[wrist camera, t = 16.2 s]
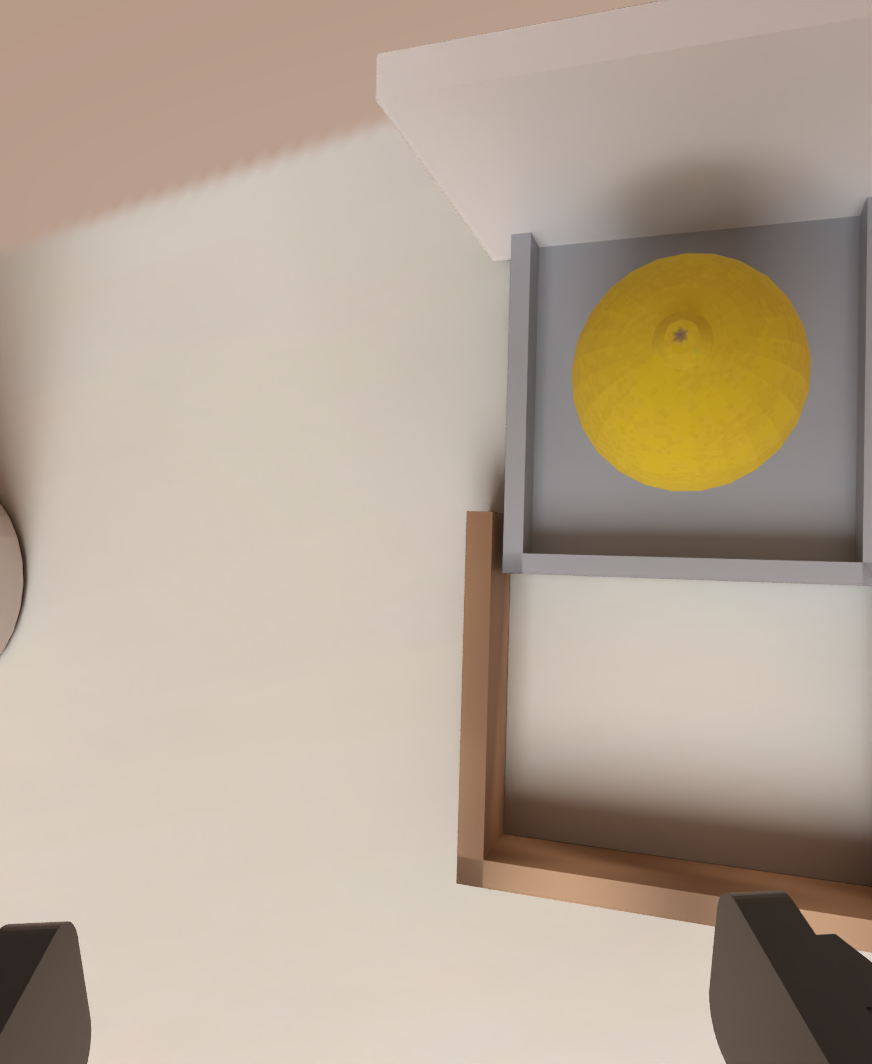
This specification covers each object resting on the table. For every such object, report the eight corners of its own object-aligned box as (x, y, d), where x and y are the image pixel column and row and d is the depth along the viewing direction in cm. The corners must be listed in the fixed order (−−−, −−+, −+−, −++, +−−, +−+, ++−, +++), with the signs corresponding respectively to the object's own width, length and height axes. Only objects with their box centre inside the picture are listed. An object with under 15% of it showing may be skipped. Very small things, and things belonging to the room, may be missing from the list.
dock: (478, 855, 26) (456, 883, 24) (487, 515, 27) (466, 511, 24) (913, 922, 22) (936, 963, 20) (917, 520, 23) (940, 516, 20)
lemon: (703, 275, 24) (701, 140, 16) (836, 415, 22) (903, 340, 15) (557, 401, 25) (491, 332, 17) (675, 541, 24) (661, 531, 16)
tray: (484, 570, 26) (360, 575, 17) (493, 231, 27) (376, 54, 17) (918, 586, 22) (1064, 602, 13) (923, 185, 23) (1069, -78, 13)
